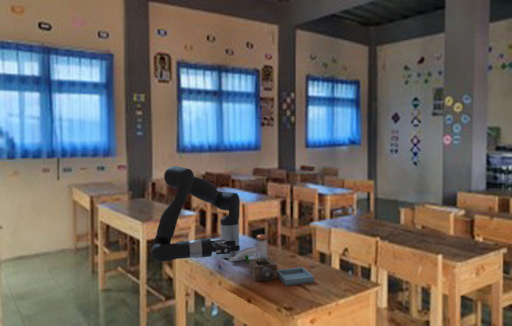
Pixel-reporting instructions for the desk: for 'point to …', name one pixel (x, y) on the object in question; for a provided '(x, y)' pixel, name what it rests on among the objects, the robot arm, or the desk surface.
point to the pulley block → (263, 270)
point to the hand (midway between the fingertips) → (237, 245)
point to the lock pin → (262, 249)
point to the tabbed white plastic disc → (243, 255)
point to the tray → (295, 276)
